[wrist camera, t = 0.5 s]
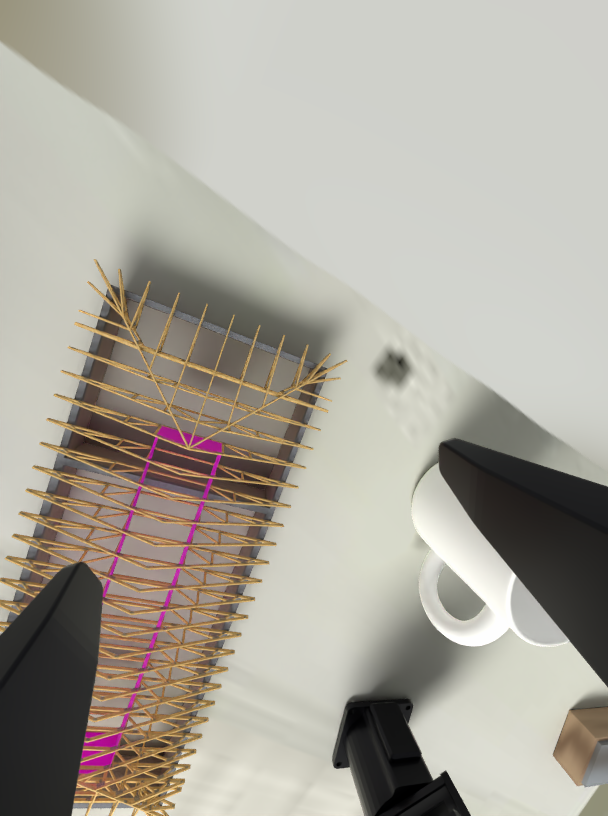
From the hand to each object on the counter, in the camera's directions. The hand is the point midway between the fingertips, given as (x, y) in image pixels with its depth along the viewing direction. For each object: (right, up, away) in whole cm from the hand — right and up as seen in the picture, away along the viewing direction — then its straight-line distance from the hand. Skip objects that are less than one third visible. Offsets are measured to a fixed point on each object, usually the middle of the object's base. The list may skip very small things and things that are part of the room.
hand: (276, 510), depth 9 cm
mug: (+12, -6, +21) cm, 25 cm away
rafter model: (-10, -8, +16) cm, 21 cm away
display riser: (+33, -34, +31) cm, 57 cm away
